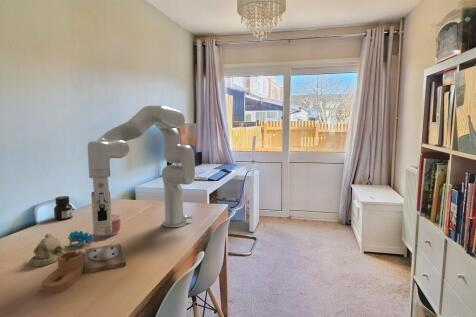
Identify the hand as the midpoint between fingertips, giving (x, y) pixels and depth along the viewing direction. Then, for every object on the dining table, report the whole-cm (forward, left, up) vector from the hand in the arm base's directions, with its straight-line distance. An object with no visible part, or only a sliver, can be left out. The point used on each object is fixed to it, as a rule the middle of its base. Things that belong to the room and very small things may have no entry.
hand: (102, 217), depth 124 cm
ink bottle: (+18, -67, -17) cm, 71 cm away
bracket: (+13, +12, -18) cm, 25 cm away
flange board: (0, 0, -17) cm, 17 cm away
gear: (+9, -20, -17) cm, 28 cm away
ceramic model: (+20, -10, -17) cm, 29 cm away
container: (-4, -30, -17) cm, 35 cm away
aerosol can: (0, 0, -7) cm, 7 cm away
